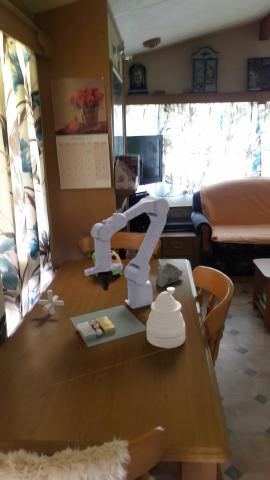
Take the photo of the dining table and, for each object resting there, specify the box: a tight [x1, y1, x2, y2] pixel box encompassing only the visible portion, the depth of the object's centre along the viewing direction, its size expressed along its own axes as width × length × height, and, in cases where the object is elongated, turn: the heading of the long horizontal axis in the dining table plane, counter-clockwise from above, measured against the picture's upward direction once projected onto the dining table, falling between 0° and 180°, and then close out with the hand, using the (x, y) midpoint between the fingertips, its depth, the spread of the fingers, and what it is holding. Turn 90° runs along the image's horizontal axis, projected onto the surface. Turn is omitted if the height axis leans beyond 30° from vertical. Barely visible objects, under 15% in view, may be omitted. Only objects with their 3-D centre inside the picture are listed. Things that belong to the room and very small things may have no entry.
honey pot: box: [145, 286, 186, 349], centre depth 117 cm, size 13×13×18 cm
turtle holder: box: [91, 250, 123, 277], centre depth 177 cm, size 12×18×12 cm
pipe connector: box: [37, 289, 65, 316], centre depth 138 cm, size 10×10×10 cm
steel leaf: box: [76, 320, 103, 343], centre depth 124 cm, size 9×6×2 cm
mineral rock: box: [155, 262, 183, 288], centre depth 162 cm, size 13×11×10 cm
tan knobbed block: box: [92, 316, 116, 335], centre depth 126 cm, size 9×6×2 cm
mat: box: [69, 304, 147, 348], centre depth 130 cm, size 22×22×1 cm
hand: (105, 289), depth 135 cm, fingers closed
